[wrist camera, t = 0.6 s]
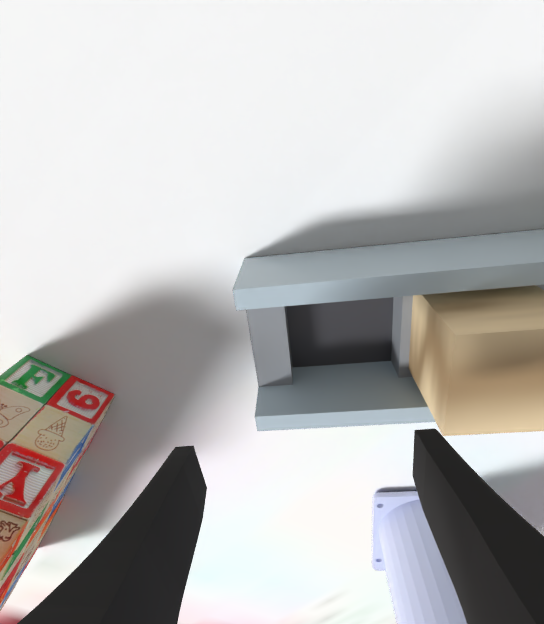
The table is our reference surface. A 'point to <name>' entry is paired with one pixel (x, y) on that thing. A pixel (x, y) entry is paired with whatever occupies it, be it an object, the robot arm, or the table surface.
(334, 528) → the table surface
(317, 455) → the table surface
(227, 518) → the table surface
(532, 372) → the maple block
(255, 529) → the table surface
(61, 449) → the stack of blocks
